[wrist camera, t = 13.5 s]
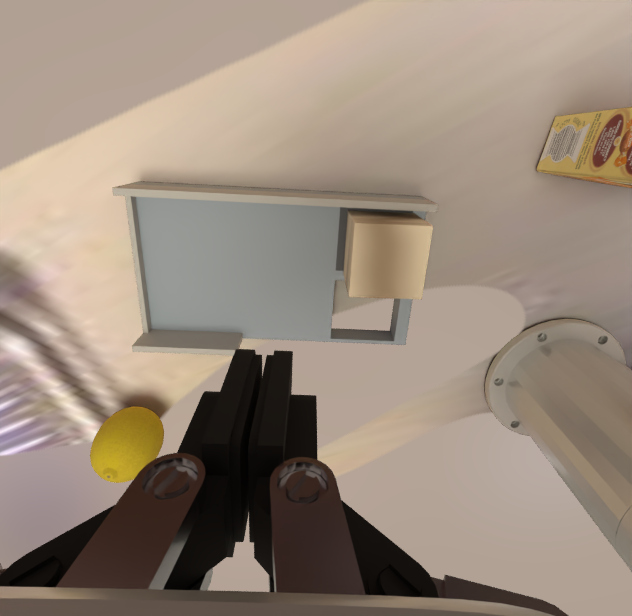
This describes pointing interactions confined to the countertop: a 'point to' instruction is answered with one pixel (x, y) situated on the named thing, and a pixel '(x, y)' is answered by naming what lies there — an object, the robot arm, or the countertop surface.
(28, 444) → the countertop surface
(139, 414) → the lemon
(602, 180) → the candy box
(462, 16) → the countertop surface
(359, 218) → the block
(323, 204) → the pale blue tray
